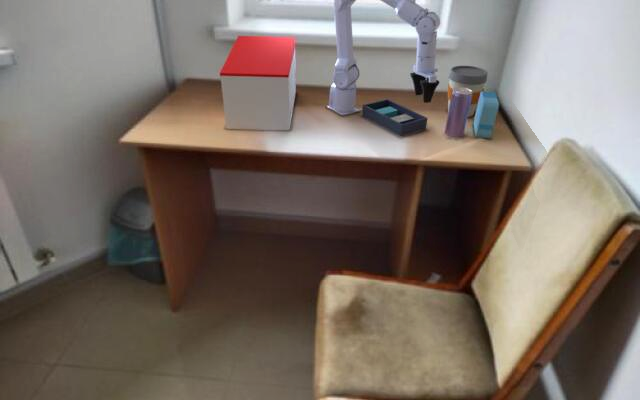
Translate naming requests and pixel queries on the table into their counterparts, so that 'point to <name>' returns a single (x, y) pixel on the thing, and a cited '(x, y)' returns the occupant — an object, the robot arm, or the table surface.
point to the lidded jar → (467, 83)
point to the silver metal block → (403, 118)
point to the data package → (486, 114)
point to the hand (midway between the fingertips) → (422, 98)
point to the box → (389, 123)
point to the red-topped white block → (259, 83)
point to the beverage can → (458, 112)
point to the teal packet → (388, 111)
